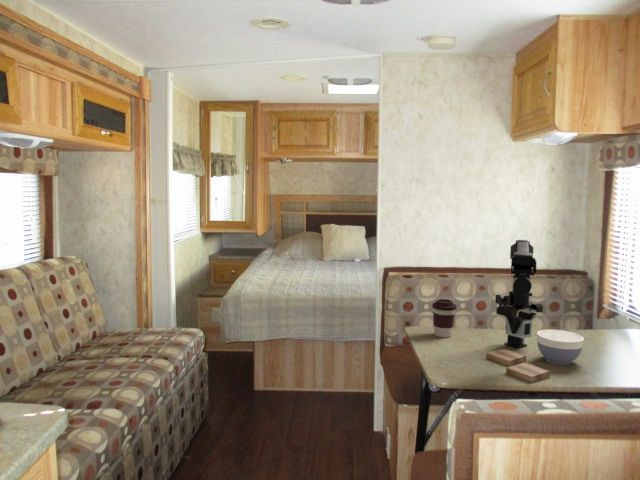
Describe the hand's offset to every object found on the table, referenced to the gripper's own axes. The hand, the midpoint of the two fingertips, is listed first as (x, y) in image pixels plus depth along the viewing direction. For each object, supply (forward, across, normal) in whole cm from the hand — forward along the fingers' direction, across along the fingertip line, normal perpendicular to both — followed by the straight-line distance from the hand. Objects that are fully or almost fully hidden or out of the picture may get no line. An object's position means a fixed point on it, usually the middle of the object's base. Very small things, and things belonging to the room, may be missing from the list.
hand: (518, 332), depth 195 cm
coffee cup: (+12, -7, -42) cm, 44 cm away
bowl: (+13, -20, +3) cm, 24 cm away
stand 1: (+12, -4, -8) cm, 15 cm away
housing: (+1, 0, 0) cm, 1 cm away
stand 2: (+13, +2, +6) cm, 15 cm away
